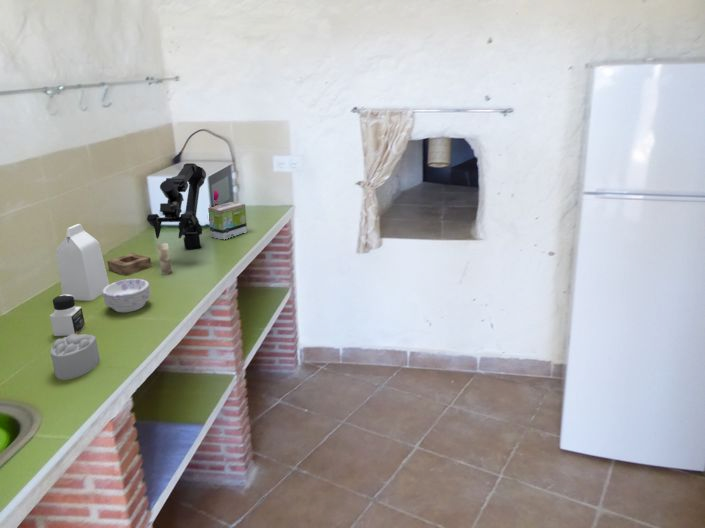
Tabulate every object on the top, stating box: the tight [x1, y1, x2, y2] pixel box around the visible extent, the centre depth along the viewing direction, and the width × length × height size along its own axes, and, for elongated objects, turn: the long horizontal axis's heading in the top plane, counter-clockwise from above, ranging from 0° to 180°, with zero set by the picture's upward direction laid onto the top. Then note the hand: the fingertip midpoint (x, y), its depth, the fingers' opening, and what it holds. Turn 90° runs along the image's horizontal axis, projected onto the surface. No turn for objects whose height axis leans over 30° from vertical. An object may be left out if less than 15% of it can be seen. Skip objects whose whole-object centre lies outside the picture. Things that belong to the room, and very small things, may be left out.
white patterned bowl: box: [102, 278, 152, 313], centre depth 208 cm, size 15×15×8 cm
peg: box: [157, 242, 173, 276], centre depth 240 cm, size 4×4×12 cm
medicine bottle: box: [49, 294, 86, 337], centre depth 191 cm, size 7×7×12 cm
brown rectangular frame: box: [107, 252, 152, 276], centre depth 248 cm, size 12×12×4 cm
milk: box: [55, 223, 110, 302], centre depth 219 cm, size 12×12×26 cm
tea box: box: [207, 201, 248, 241], centre depth 287 cm, size 15×10×15 cm
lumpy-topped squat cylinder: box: [50, 333, 101, 381], centre depth 168 cm, size 10×13×9 cm
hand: (168, 238), depth 243 cm, fingers open, 9 cm apart
